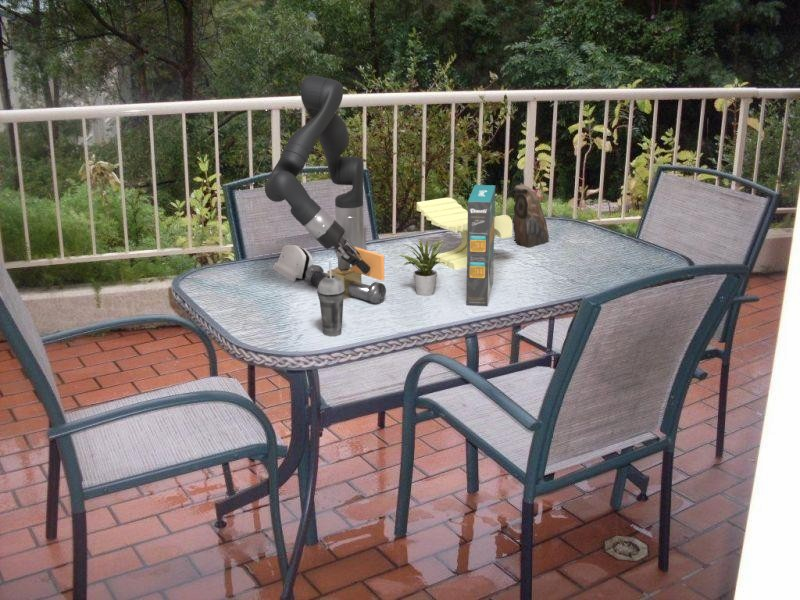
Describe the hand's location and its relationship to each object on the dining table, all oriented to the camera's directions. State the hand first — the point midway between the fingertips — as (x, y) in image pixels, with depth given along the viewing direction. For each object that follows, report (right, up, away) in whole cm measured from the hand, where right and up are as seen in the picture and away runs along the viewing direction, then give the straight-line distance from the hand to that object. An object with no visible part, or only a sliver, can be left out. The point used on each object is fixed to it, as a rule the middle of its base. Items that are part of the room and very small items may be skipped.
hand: (368, 271), depth 260 cm
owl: (+55, +12, +64) cm, 85 cm away
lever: (-2, 0, +5) cm, 6 cm away
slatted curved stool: (+30, +5, +44) cm, 53 cm away
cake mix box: (+32, -6, +12) cm, 35 cm away
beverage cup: (-9, -17, -18) cm, 26 cm away
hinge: (-24, 0, +32) cm, 40 cm away
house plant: (+17, -6, +14) cm, 23 cm away
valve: (-7, -6, +13) cm, 16 cm away
